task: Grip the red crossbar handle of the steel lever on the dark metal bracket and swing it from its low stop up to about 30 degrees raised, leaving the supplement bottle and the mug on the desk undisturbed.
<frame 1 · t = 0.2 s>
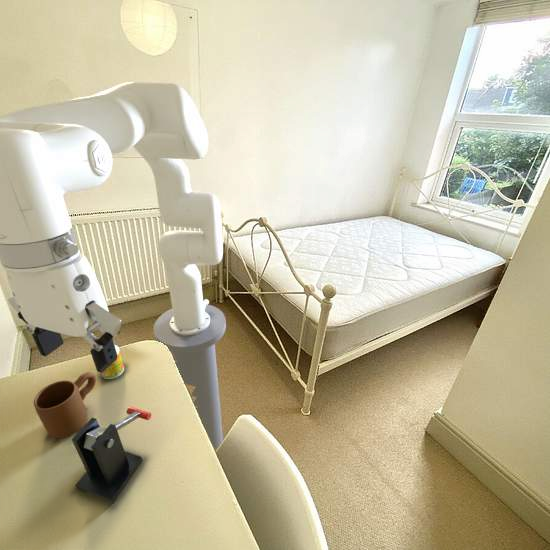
hand: (80, 357, 44), 30 cm above the table, tool pointing down, fingers open, 9 cm apart
mug: (78, 416, 69), on the table
bracket: (111, 474, 58), on the table
lever: (118, 425, 58), point 8 cm above the table, hinge at -30.0°
supplement bottle: (113, 372, 80), on the table
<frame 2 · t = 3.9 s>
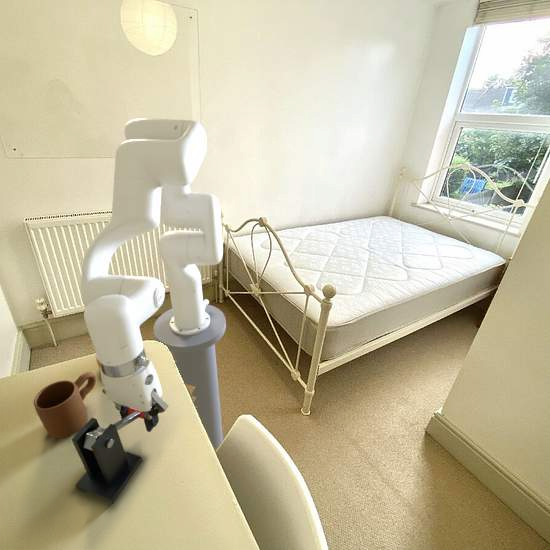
hand: (141, 421, 65), 3 cm above the table, tool pointing down, fingers closed on lever, 5 cm apart
lever: (118, 425, 58), point 8 cm above the table, hinge at -30.0°, touching gripper
everything else where it was.
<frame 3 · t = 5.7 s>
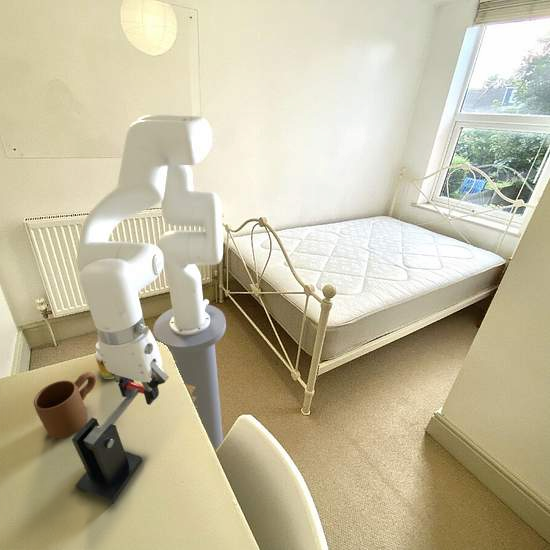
hand: (140, 394, 63), 9 cm above the table, tool pointing down, fingers closed on lever, 5 cm apart
lever: (117, 412, 57), point 11 cm above the table, hinge at 2.5°, touching gripper
everything else where it was.
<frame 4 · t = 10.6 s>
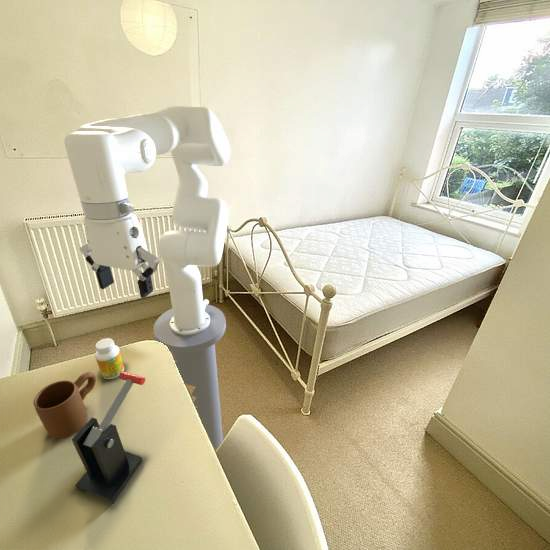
hand: (127, 290, 63), 28 cm above the table, tool pointing down, fingers open, 9 cm apart
lever: (114, 408, 56), point 13 cm above the table, hinge at 21.9°
everything else where it was.
at the end: lever at +22° (first picture: -30°); supplement bottle moved 0.2 cm from its start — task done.
